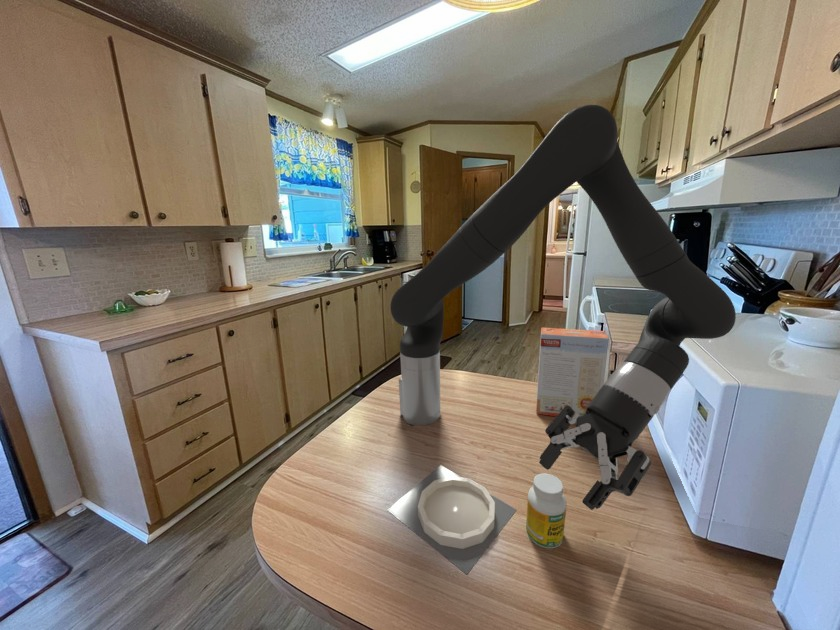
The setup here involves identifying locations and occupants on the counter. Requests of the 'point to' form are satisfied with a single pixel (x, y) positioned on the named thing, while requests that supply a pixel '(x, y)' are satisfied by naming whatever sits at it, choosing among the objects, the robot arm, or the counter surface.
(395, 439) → the counter surface
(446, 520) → the bowl
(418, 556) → the counter surface
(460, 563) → the slate board
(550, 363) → the cracker box
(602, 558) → the counter surface
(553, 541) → the supplement bottle
